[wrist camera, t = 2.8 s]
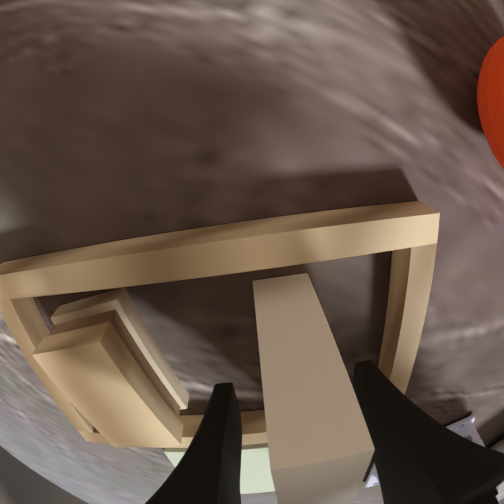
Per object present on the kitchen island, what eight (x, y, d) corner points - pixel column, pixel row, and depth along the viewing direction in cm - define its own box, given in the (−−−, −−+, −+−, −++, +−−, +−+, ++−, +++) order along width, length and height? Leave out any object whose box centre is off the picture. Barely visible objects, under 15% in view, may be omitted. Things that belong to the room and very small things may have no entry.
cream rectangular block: (307, 272, 12) (375, 449, 5) (310, 387, 15) (342, 524, 8) (252, 280, 12) (270, 469, 5) (269, 393, 15) (285, 533, 8)
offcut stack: (126, 284, 13) (96, 337, 9) (189, 391, 15) (183, 446, 12) (60, 303, 13) (26, 351, 10) (128, 399, 16) (114, 449, 12)
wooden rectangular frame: (418, 200, 11) (439, 212, 10) (388, 396, 16) (397, 416, 15) (2, 262, 12) (-16, 277, 10) (93, 422, 16) (86, 441, 15)
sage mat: (316, 432, 17) (318, 439, 17) (314, 479, 21) (315, 485, 20) (164, 444, 17) (163, 451, 17) (197, 489, 21) (197, 494, 20)
